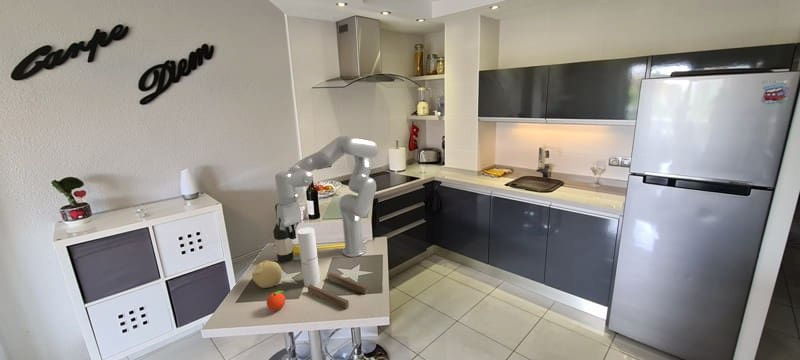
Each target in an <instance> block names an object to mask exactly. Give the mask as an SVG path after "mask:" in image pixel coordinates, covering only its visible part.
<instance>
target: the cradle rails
mask: <svg viewBox="0 0 800 360" xmlns="http://www.w3.org/2000/svg"><path fill="white" fill-rule="evenodd" d="M327 280H328V281H330V282H333V283H335V284H338V285H340V286H343V287H346V288H349V289H350V290H353V291H357V292H358V293H361V294H364V295H366V294H368V285H366V284H363V283H359V282H357V281H354V280H352V279H349V278H347V277H344V276H341V275H338V274H336V273H333V272H328V273H327ZM307 292H308V293H309V294H312V295H314V296H315V297H318V298H320V299H322V300H324V301H327V302H328V303H332V304H334V305H336V306H337V307H340V308H342V309H345V310H347V309H349V307H350V305H349V304H350V303H349V300H348V299H346V298H343V297H341V296H339V295H336V294H334V293H331V292H329V291H327V290H324V289H322V288H320V287H317V286H316V285H315V286H313V285H309V286H307Z"/></svg>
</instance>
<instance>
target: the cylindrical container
mask: <svg viewBox="0 0 800 360" xmlns="http://www.w3.org/2000/svg"><path fill="white" fill-rule="evenodd" d="M296 235H297V241H298V247H299V248H298V249H299V256H300V264H301V271H302V272H301V273H302V279H303V284H304V286H306V287H308V286H309V285H313V286H315V287H316V286H317V285H319V284H320V282H321V277H320V276H321V275H320V266H319V259H318V250H317V243H316V233H315V228H314V227H310V226H309V227H308V226H307V227H302V228H300V229H299V228H298V230H296Z"/></svg>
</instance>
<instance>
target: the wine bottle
mask: <svg viewBox="0 0 800 360" xmlns="http://www.w3.org/2000/svg"><path fill="white" fill-rule="evenodd" d="M278 204H279V202H277V203H275V205H274V210H275V216H276V217H275V218H277V205H278ZM272 233H273V239H274V244H275V252H276V259H277V262H278V263H281V264H284V263H289V262H292V261H293V260H294V258H295V254H294V253H295V252H294V247H293V245H294V244H293V240H292V239H289V237H288V231H286V230H280V226H279V225H278V224H277V223H276V224H275V227H274V228H273V232H272Z"/></svg>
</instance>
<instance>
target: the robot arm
mask: <svg viewBox="0 0 800 360" xmlns="http://www.w3.org/2000/svg"><path fill="white" fill-rule="evenodd" d="M377 154H379V146H378V145H377V143H376V142H374V141H372V140H368V139H364V138H363V139H362V138H360V137H359V138H358V137H355V136H346V135H340V136H337V137H336V138H335V139H333V140H332V141H331V142H329V143H328V144H326V145H325V146H324V147H322V148H321V149H320V150H318V151H316V152H314V153H312V154H310V155H308V156H305V157H304V158H301V159H300V160H299V161H297V162H295V164H293V165H292V166H291V167H290V168H289V169H288V170H287V171H280V172H278V173H276V174H275V176H274V179H275V186H276V193H277V194H276V195H277V204H278V203H279V204H278V205H277V217H276V224H278V225H279V226H280V230H286V231H288V237H289V239H292V241H293V240H295V239H297V227H298V225H299V224H301V223H302V212H301V208H300V203H299V201H298V200H297V198H298V197H299V196H298V194H296V188H301V187H302V188H304V187H308V186H310V185H311V184H312V183H313V180H314V175H313V173H312V171H315V170H318V169H323V168H327V167H331V166H332V165H334V163H336V162H337V161H338V160H339V159H341V158H342V157H343V156H345V155H349V156H353V158H354V167H353V170H352V172H351V175H350V179H349V182H348V189H349V190H350V191H351V192H353V193H355V194H357V195H355V194H351V193H346V194H344V195H343V196H342V197H340V199H339V210H340V213H341V219H342V228H343V237H344V239H343V240H344V248H342V254H343V256H346V257H348V258H349V257H352V258H353V257H354V258H355V257H359V256H362V255H363V254H365V253H366V252H367V247H366V246H365V245H366V244H367V243H368V242H369V239H368V238H365V239H363V230H362V229H363V227H362V218H363V217H365V216H366V215H368V213H369V211H370V209H371V207H372V204H373V201H374V198H375V195H376V193H377V192H376V191H377V183H376V180H375V179H373V178H372V177H370V173H371V170H372V162H371V159H372V158H375V157H376V156H377Z"/></svg>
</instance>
